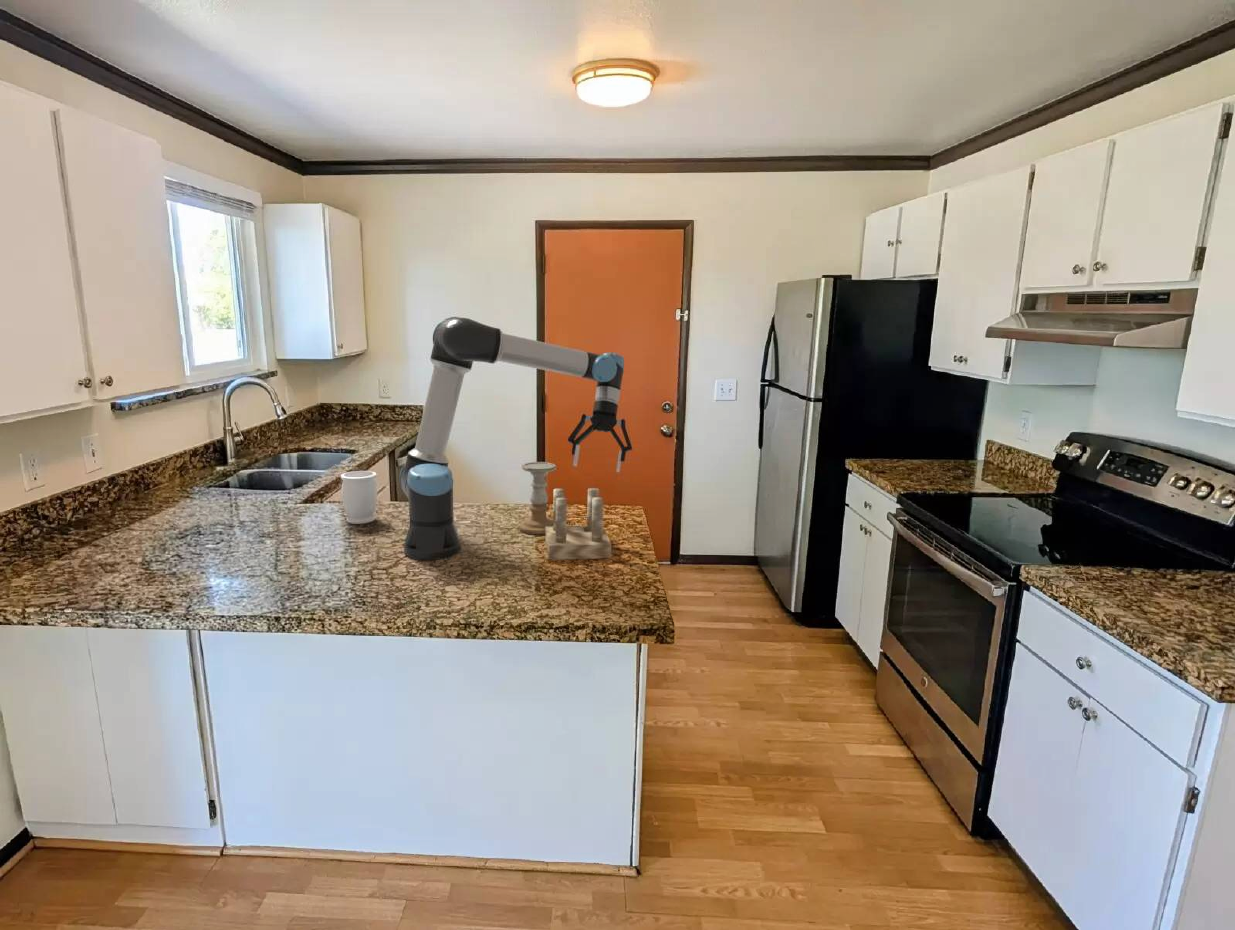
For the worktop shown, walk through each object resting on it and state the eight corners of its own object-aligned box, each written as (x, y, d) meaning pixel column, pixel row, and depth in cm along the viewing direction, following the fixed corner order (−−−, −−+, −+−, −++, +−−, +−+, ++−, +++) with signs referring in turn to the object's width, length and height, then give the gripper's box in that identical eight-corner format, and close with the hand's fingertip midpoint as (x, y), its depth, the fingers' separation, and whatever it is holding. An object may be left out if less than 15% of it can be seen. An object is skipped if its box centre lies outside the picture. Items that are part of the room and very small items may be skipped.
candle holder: (542, 537, 198) (542, 471, 193) (510, 529, 204) (510, 465, 200) (566, 527, 208) (567, 464, 204) (535, 520, 214) (535, 459, 210)
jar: (366, 526, 203) (364, 479, 199) (336, 523, 205) (333, 476, 201) (385, 517, 213) (383, 471, 210) (356, 514, 215) (353, 469, 212)
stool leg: (587, 544, 193) (588, 490, 190) (586, 540, 196) (587, 488, 193) (598, 543, 194) (599, 490, 190) (596, 540, 197) (598, 488, 193)
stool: (548, 559, 180) (549, 502, 176) (545, 539, 196) (545, 486, 193) (610, 557, 183) (612, 501, 179) (602, 538, 199) (603, 486, 195)
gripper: (646, 410, 211) (636, 475, 208) (569, 400, 214) (559, 465, 211) (645, 404, 204) (635, 472, 201) (565, 394, 207) (554, 461, 204)
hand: (596, 468), depth 206 cm, fingers open, 13 cm apart
